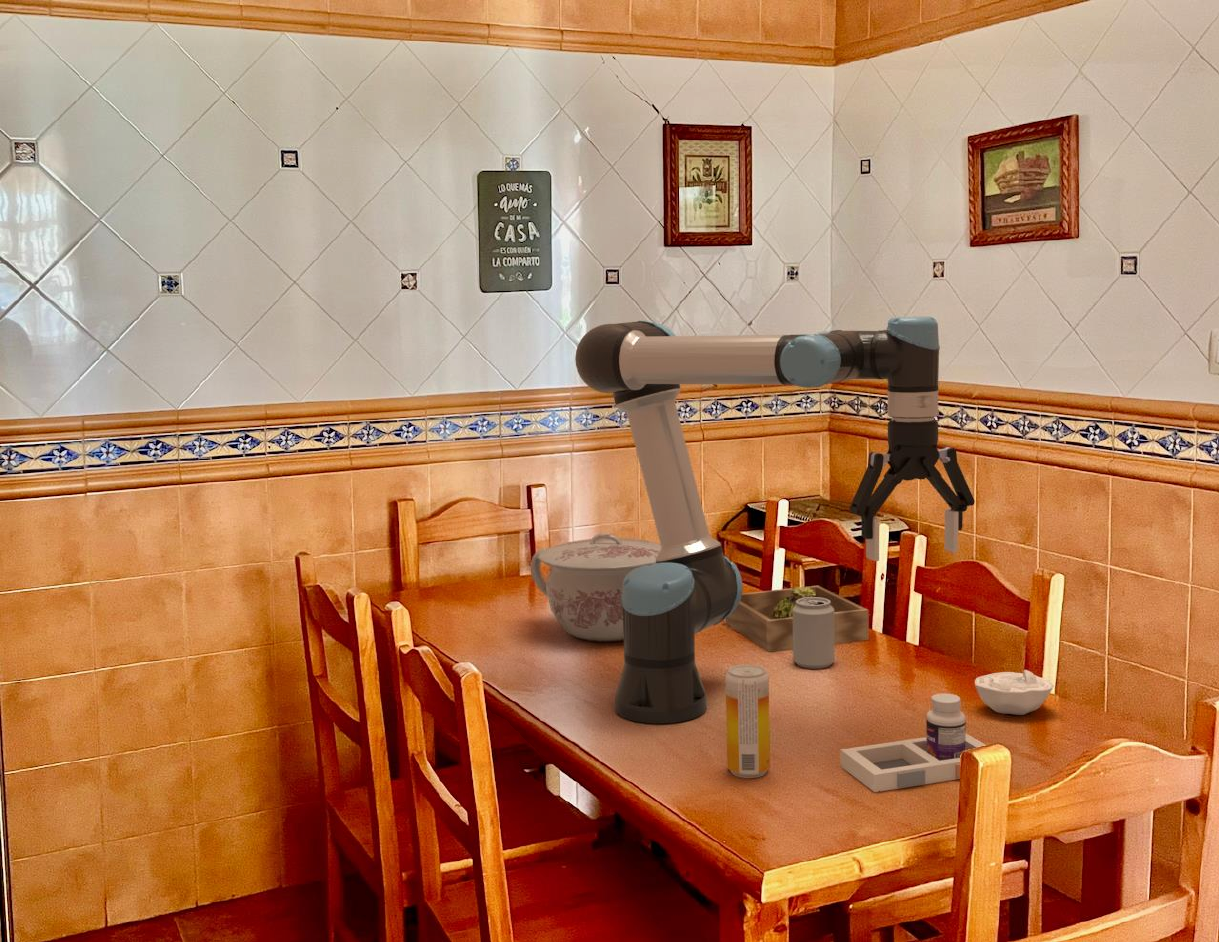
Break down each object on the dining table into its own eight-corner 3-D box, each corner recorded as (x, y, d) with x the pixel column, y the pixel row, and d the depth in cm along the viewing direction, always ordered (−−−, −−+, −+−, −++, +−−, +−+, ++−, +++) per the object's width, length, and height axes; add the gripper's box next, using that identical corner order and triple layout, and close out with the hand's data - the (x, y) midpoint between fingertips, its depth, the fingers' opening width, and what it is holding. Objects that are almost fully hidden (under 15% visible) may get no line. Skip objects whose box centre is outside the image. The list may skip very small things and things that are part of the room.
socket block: (876, 793, 168) (876, 775, 167) (840, 766, 178) (840, 749, 177) (1004, 773, 173) (1004, 756, 173) (963, 747, 183) (963, 731, 183)
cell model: (970, 700, 204) (970, 660, 203) (1046, 702, 202) (1046, 662, 201) (978, 721, 194) (978, 679, 193) (1057, 723, 192) (1058, 681, 191)
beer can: (766, 762, 180) (764, 662, 178) (773, 778, 174) (771, 675, 172) (724, 764, 180) (722, 664, 178) (730, 780, 174) (728, 677, 172)
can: (834, 670, 222) (833, 605, 220) (791, 669, 223) (791, 604, 222) (835, 658, 229) (834, 595, 227) (794, 657, 231) (793, 594, 229)
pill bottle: (923, 756, 180) (923, 691, 178) (961, 756, 179) (962, 691, 178) (929, 770, 174) (929, 703, 173) (968, 770, 174) (969, 704, 172)
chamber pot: (698, 641, 244) (696, 537, 241) (567, 660, 234) (563, 552, 231) (642, 609, 269) (640, 515, 266) (522, 625, 259) (518, 528, 256)
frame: (768, 652, 234) (768, 621, 234) (725, 623, 255) (725, 595, 255) (868, 640, 240) (868, 609, 239) (818, 613, 261) (818, 585, 260)
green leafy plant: (843, 647, 237) (843, 598, 235) (760, 645, 240) (759, 596, 239) (846, 623, 253) (846, 577, 252) (768, 621, 257) (767, 576, 256)
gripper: (850, 425, 181) (850, 567, 184) (998, 416, 188) (996, 553, 191) (827, 421, 188) (827, 557, 191) (971, 412, 195) (969, 544, 198)
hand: (912, 555), depth 191 cm, fingers open, 13 cm apart
